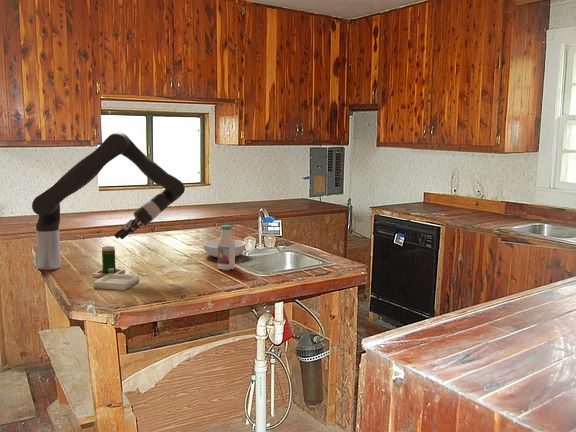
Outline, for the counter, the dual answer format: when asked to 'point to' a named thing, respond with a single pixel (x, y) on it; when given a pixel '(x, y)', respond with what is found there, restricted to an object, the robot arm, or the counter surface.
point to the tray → (116, 281)
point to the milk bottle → (226, 249)
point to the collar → (99, 274)
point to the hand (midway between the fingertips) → (117, 237)
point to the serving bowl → (212, 247)
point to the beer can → (108, 260)
